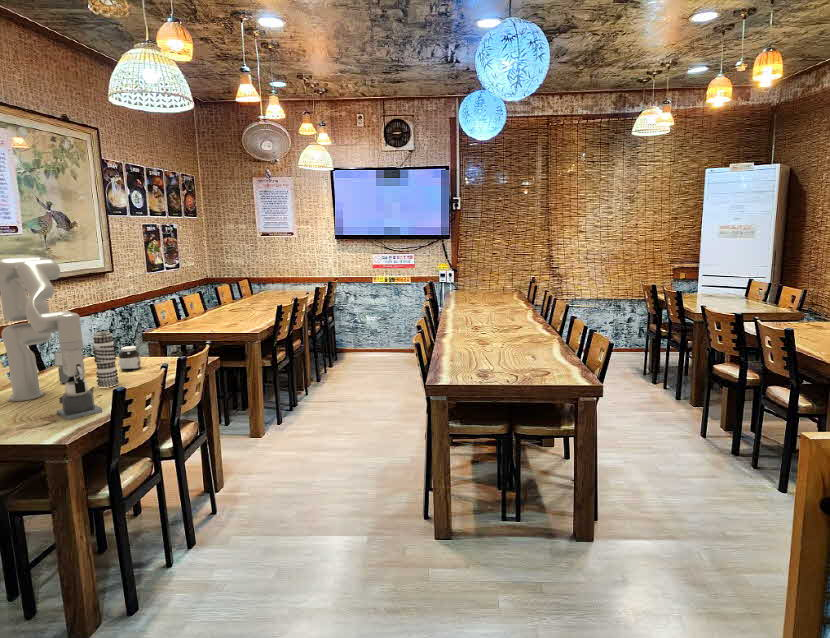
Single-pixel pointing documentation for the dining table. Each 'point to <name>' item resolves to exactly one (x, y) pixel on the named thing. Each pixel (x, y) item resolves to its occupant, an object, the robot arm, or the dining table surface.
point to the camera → (59, 363)
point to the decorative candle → (105, 359)
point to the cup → (71, 389)
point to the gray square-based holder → (78, 406)
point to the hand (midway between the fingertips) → (77, 390)
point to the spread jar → (129, 359)
